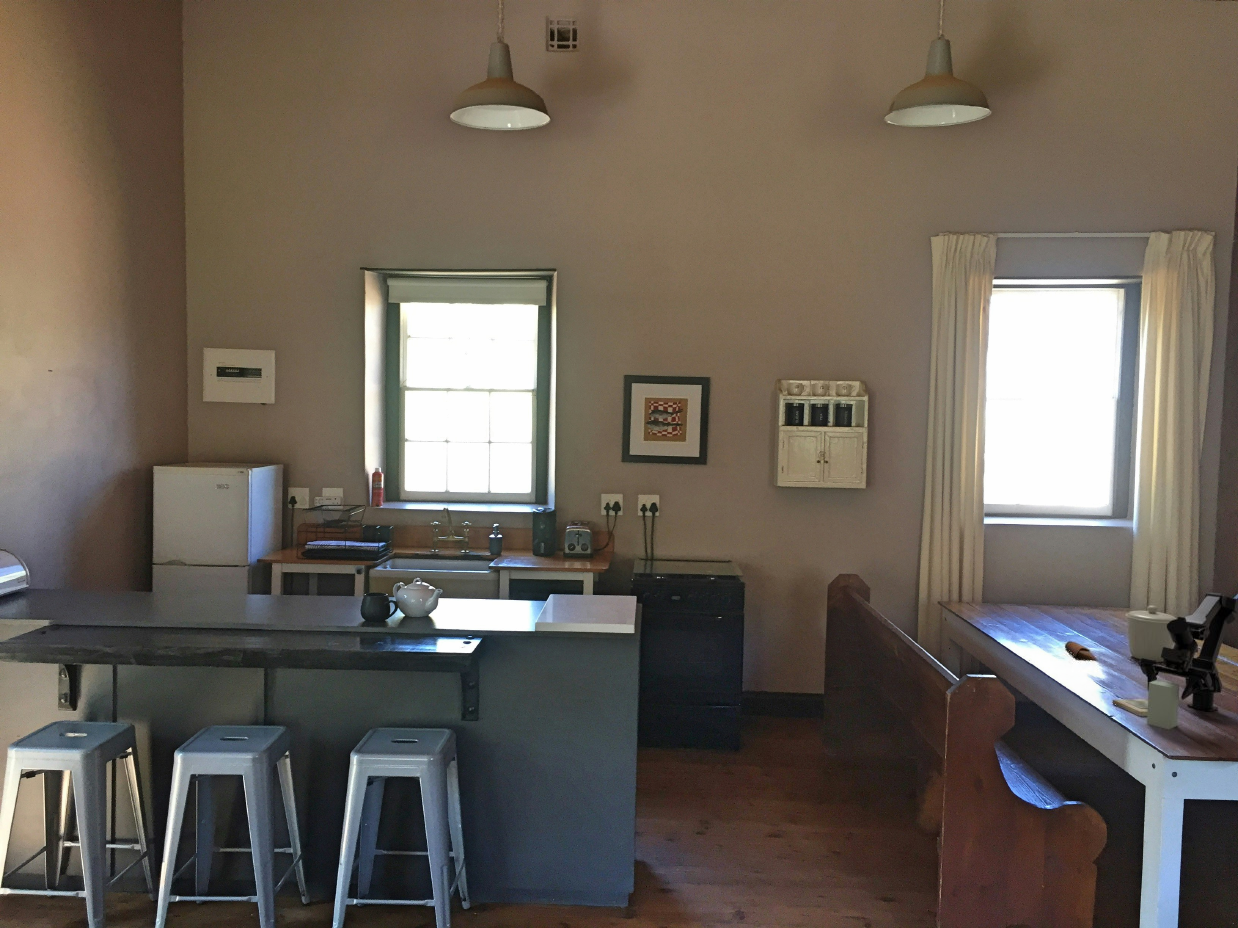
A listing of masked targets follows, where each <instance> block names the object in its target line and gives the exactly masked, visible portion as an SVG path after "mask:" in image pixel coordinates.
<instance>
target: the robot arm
mask: <svg viewBox="0 0 1238 928" xmlns="http://www.w3.org/2000/svg"><path fill="white" fill-rule="evenodd" d="M1237 617H1238V598H1235V597H1228V596H1227V595H1225V594H1223V593H1217V592H1206V593H1205V596H1204V599H1203V600H1202V602H1201V603H1200V604H1199V606H1198V607H1197V609H1196V610H1195V611H1194V613H1193V614H1189V615H1185V617H1183V616H1177V618H1176V619H1175V620H1172V621H1170V622H1169V623H1168V624H1167V630H1168V632H1169V635H1170V637H1171V639H1172V641H1173V647H1172V649H1171V648H1166V647H1163V649H1162V653H1161V658H1163V659H1164V660H1163V662H1162V663H1163V664H1164V665H1159V664H1158V662H1156V660H1153V659H1148V658H1141V659H1139V661H1138V665H1139V668H1140V669H1141V672H1142V674H1143V675H1145V677H1146V679H1147V680H1146V681H1147V691H1148V692H1149V683H1150V682H1152V681H1155V680H1158V677H1157V676H1158V675H1159V673H1161V674H1167V675H1172V676H1174V677H1180V678H1185V679H1184V680H1185V687H1184V689H1183V691H1182V693H1181V696H1180V698H1181V701H1184V700H1185V699H1187V698H1188V697H1190V696H1192V697H1191V698H1192V700H1191V702H1192V703H1188V704H1187V705H1186V707H1189V708H1192V709H1193V708H1194V709H1196V710H1201V711H1204V712H1212V711H1216V710H1219V707H1217V706H1216V705H1215V706H1214V701H1215V694H1216V693H1217V694H1218V693H1219V694H1221V693H1222V689H1223V683H1222V680H1221V679H1220V676H1219V675H1220V673H1219V670H1218V668H1217V665H1216V663H1217V659H1218V656H1219V653H1220V650H1221V647H1222V644H1223V642H1224V637H1225V634H1226V632H1227V628H1228V625H1229V624H1231V623H1232V622H1234V621H1235V620H1236V619H1237ZM1196 640H1197V641H1200V642H1202V645H1201V648H1200V651H1199V648H1198V647H1199V644H1198V642H1197V641H1196ZM1198 652H1199V655H1198V656H1197V657H1195V654H1196V653H1198Z"/></svg>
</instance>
